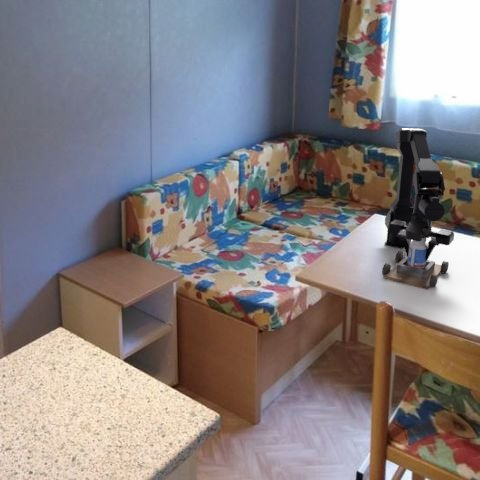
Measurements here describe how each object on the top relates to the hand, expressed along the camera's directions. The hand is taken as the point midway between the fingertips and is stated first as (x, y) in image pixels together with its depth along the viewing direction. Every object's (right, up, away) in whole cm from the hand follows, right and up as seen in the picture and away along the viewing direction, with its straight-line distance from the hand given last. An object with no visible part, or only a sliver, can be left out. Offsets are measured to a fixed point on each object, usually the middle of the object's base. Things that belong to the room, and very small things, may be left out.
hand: (416, 258), depth 205 cm
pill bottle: (0, -3, +1) cm, 3 cm away
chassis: (0, -5, +2) cm, 5 cm away
